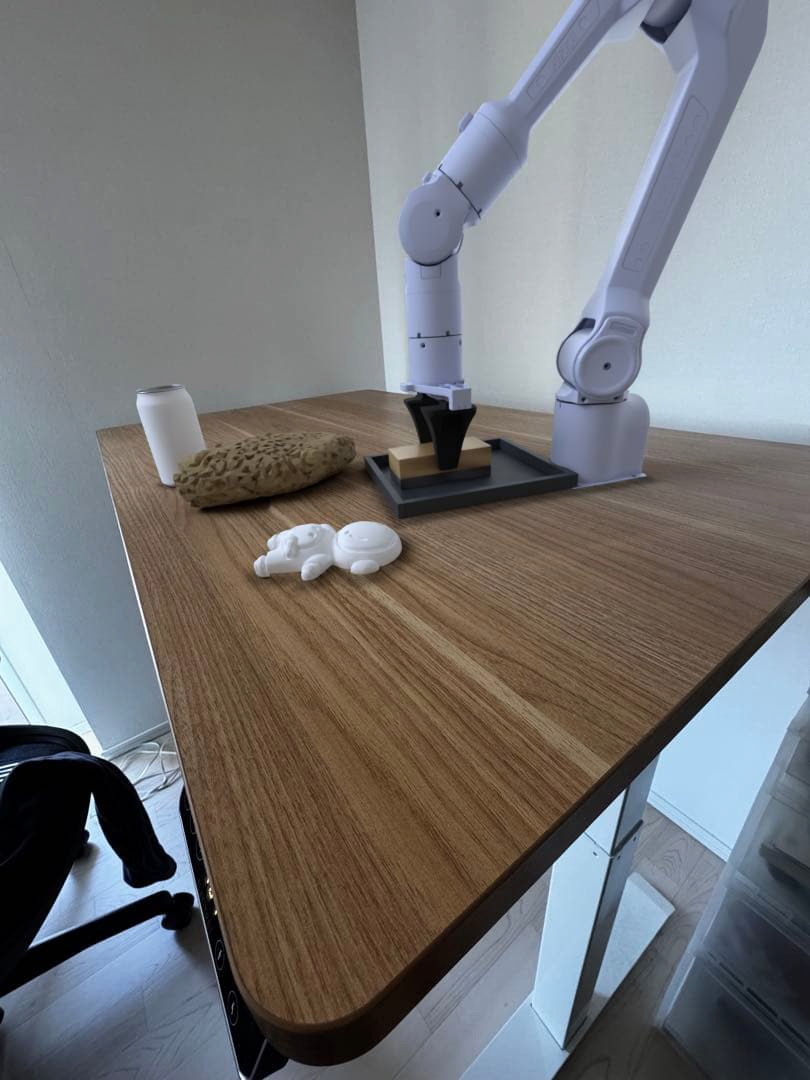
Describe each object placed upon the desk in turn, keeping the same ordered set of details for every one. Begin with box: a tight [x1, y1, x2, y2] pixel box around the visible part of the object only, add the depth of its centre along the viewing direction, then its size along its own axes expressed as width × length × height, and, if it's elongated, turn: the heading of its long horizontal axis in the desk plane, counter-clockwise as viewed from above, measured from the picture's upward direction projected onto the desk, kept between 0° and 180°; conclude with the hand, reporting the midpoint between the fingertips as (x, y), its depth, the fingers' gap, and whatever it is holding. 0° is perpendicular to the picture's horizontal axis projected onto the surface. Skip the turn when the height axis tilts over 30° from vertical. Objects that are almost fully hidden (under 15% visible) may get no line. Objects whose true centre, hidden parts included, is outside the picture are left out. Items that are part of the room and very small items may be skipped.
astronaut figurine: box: [253, 520, 403, 582], centre depth 38 cm, size 9×12×3 cm
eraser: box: [387, 435, 491, 490], centre depth 53 cm, size 11×5×4 cm, turn 105°
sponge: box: [173, 431, 357, 509], centre depth 53 cm, size 13×8×20 cm
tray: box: [363, 435, 578, 520], centre depth 53 cm, size 20×18×2 cm
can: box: [135, 384, 207, 488], centre depth 58 cm, size 6×6×12 cm
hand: (439, 462), depth 53 cm, fingers closed on eraser, 5 cm apart
